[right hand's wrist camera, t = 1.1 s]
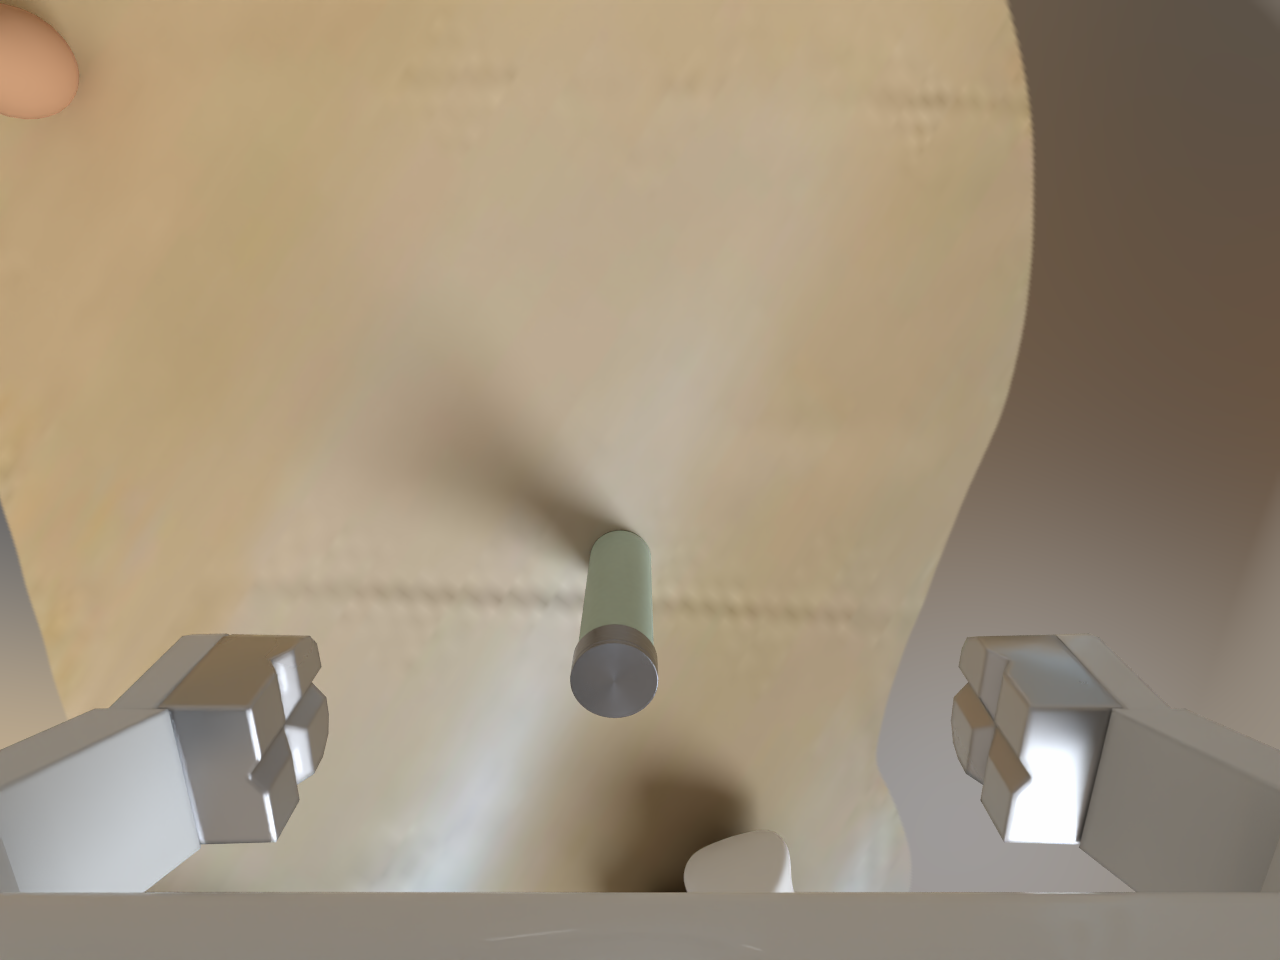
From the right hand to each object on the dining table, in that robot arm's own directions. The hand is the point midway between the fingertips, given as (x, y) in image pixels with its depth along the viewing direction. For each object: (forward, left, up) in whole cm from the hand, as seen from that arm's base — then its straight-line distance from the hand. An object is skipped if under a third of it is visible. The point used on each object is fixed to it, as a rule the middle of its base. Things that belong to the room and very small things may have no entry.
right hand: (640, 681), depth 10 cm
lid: (+21, -2, -32) cm, 38 cm away
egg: (-12, -37, -48) cm, 62 cm away
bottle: (+21, -2, -48) cm, 53 cm away
